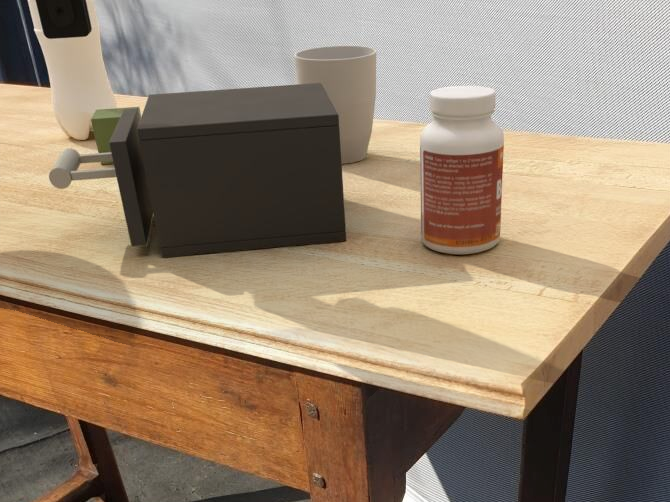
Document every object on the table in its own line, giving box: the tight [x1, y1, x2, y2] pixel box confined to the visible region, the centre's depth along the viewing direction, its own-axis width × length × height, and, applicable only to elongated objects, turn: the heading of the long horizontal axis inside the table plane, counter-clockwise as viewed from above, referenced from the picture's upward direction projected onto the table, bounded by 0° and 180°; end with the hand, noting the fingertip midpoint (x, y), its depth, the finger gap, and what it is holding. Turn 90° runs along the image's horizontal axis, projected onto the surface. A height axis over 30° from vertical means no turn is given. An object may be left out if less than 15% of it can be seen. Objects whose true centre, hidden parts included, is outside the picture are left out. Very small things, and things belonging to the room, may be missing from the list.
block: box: [91, 106, 142, 165], centre depth 89 cm, size 5×5×5 cm
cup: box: [293, 45, 377, 165], centre depth 85 cm, size 8×8×10 cm
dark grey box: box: [137, 83, 347, 258], centre depth 68 cm, size 15×13×10 cm
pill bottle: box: [419, 85, 505, 256], centre depth 62 cm, size 6×6×11 cm
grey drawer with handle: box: [48, 109, 154, 247], centre depth 68 cm, size 19×11×8 cm, turn 99°
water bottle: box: [27, 0, 118, 141], centre depth 93 cm, size 7×7×25 cm
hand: (69, 35), depth 61 cm, fingers closed
